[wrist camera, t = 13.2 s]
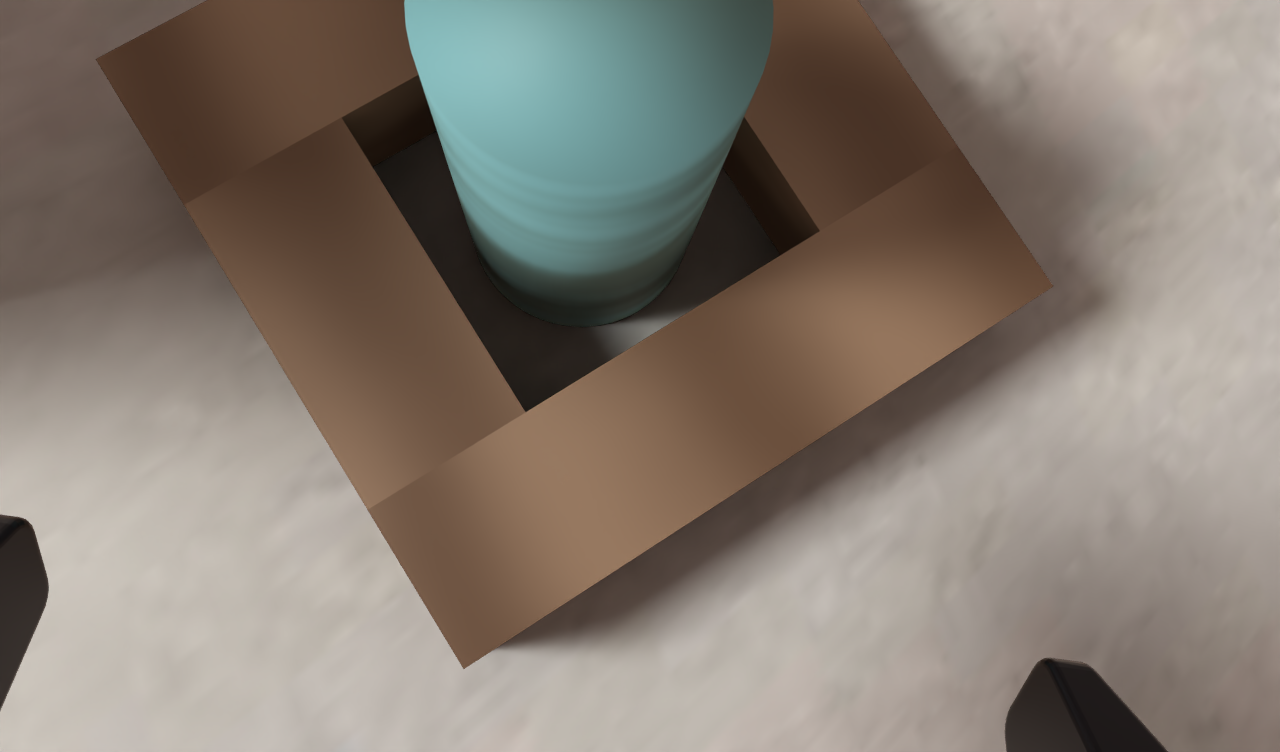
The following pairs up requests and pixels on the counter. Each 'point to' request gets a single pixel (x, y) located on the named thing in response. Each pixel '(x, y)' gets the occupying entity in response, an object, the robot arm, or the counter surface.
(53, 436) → the counter surface
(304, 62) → the walnut socket block
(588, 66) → the teal peg
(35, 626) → the robot arm
